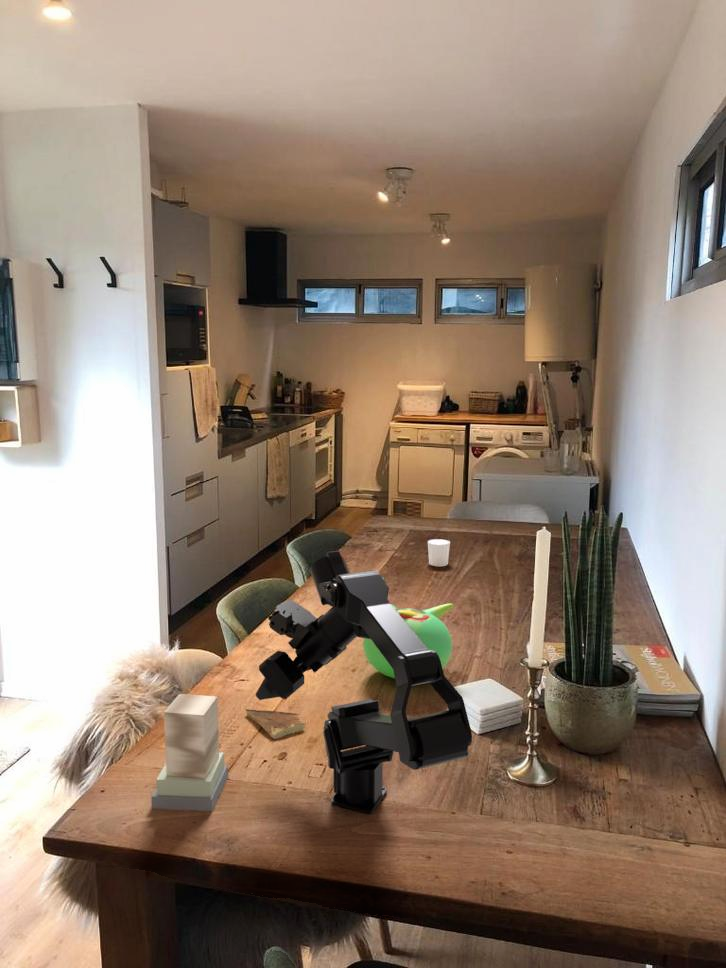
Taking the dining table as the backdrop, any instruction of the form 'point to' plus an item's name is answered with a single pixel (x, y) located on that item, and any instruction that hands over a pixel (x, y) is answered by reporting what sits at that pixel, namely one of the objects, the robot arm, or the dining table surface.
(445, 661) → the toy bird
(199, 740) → the maple column
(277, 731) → the shard
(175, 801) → the tower bottom slab
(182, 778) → the tower top slab
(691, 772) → the dining table surface
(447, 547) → the white short cylinder
